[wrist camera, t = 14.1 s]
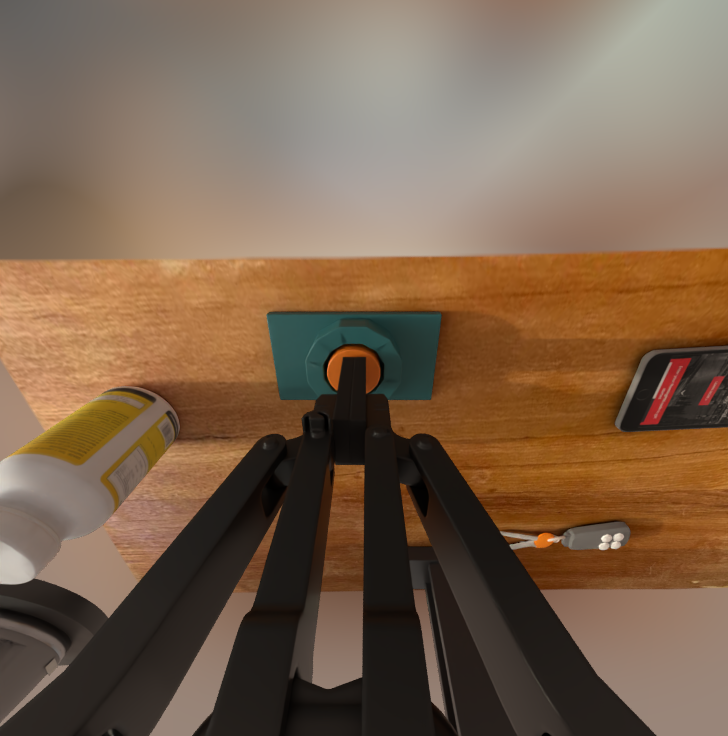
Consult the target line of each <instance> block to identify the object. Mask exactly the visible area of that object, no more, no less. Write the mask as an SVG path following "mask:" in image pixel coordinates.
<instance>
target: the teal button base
mask: <svg viewBox="0 0 728 736" xmlns="http://www.w3.org/2000/svg"><path fill="white" fill-rule="evenodd" d="M441 317H442V315H441V313H440V312H269V313H268V314H267V321H268V328H269V334H270V340H271V346H272V352H273V358H274V364H275V370H276V376H277V382H278V388H279V394H280V399H281V400H316V399H317V398H318V397H319V396H320V395H321V394H337V390H336V389H335V388H334V387H333V386H332V385H331V384H330V382H329V380H328V376H327V368H328V364H329V360H330V357H331V354H332V352H333V350H335V349H336V348H338V347H340V346H342V345H344V344H363V345H365V346H367V347H369V348H371V349H373V350H374V351H376V352H377V354H378V357H379V362H380V379H379V382H378V384H377V385H376V387H375V388H374V389H373V390H371V391H370V392H368V393H367V394H384V395H385V396H386V397H387V398H388V400H431V396H432V388H433V380H434V372H435V364H436V356H437V348H438V340H439V332H440V324H441Z"/></svg>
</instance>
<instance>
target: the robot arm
mask: <svg viewBox="0 0 728 736" xmlns="http://www.w3.org/2000/svg"><path fill="white" fill-rule="evenodd" d="M302 426H303V435H301V436H299V437H297V438H294V439H289V440H286V439H285V438H284V437H283V436H282V435H279V434H270V435H266V436H264V437H262V438H261V439H260V440H258V441H257V442H256V444H255V445H254V446H253V447H252V448H251V450H250V451H249V452H248V453H247V454H246V456H245V457H244V458H243V459H242V460H241V461H240V463H239V464H238V465H237V466H236V467H235V469H234V470H233V471H232V472H231V473H230V475H229V476H228V477H227V478H226V479H225V481H224V482H223V483H222V484H221V485H220V486H219V488H218V489H217V490H216V491H215V492H214V494H213V495H212V496H211V497H210V498H209V500H208V501H207V502H206V503H205V504H204V505H203V507H202V508H201V509H200V510H199V511H198V513H197V514H196V515H195V516H194V517H193V519H192V520H191V521H190V522H189V523H188V525H187V526H186V527H185V528H184V529H183V530H182V532H181V533H180V534H179V535H178V536H177V538H176V539H175V540H174V541H173V542H172V544H171V545H170V546H169V547H168V548H167V549H166V551H165V552H164V553H163V554H162V555H161V557H160V558H159V559H158V560H157V561H156V563H155V564H154V565H153V566H152V567H151V569H150V570H149V571H148V572H147V573H146V574H145V576H144V577H143V578H142V579H141V580H140V582H139V583H138V584H137V585H136V586H135V588H134V589H133V590H132V591H131V592H130V593H129V595H128V596H127V597H126V598H125V599H124V601H123V602H122V603H121V604H120V605H119V607H118V608H117V609H116V610H115V611H114V613H113V614H112V615H111V616H110V618H108V620H107V621H106V622H105V623H104V624H103V626H102V627H101V628H100V629H99V630H98V632H97V633H96V634H95V635H94V636H93V637H92V639H91V640H90V641H89V642H88V643H87V645H86V646H85V647H84V648H83V649H82V651H81V652H80V653H79V654H78V655H77V657H76V658H75V659H74V660H73V661H72V662H71V664H70V665H69V666H68V667H67V668H66V670H65V671H64V672H63V673H62V674H60V675H59V676H58V677H57V678H56V679H55V680H54V681H52V682H51V683H50V684H49V685H48V686H47V687H46V688H44V689H43V690H42V691H41V692H40V693H39V694H38V695H36V696H35V697H34V698H33V699H32V700H31V701H30V702H29V703H27V704H26V705H25V706H24V707H23V708H22V709H20V710H19V711H18V712H17V713H16V714H15V715H14V716H13V717H11V718H10V719H9V720H8V721H7V722H6V723H4V724H3V725H2V726H1V727H0V736H149V735H150V733H151V732H152V730H153V729H154V728H155V726H156V724H157V723H158V721H159V719H160V718H161V716H162V714H163V713H164V711H165V710H166V708H167V706H168V705H169V703H170V701H171V700H172V698H173V696H174V694H175V693H176V691H177V689H178V687H179V686H180V684H181V682H182V680H183V679H184V677H185V675H186V673H187V672H188V670H189V668H190V666H191V664H192V662H193V661H194V659H195V657H196V656H197V654H198V652H199V650H200V649H201V647H202V645H203V643H204V641H205V640H206V638H207V636H208V635H209V633H210V631H211V629H212V627H213V626H214V624H215V622H216V620H217V619H218V617H219V615H220V613H221V612H222V610H223V608H224V606H225V605H226V603H227V600H228V599H229V597H230V596H231V594H232V592H233V590H234V589H235V587H236V585H237V583H238V582H239V580H240V578H241V576H242V575H243V573H244V571H245V569H246V568H247V566H248V564H249V562H250V560H251V559H252V557H253V555H254V553H255V552H256V550H257V548H258V546H259V545H260V543H261V541H262V539H263V538H264V536H265V534H266V532H267V531H268V529H269V527H270V525H271V523H272V522H273V520H274V518H275V516H276V515H277V513H278V511H279V509H280V508H281V506H282V508H281V512H280V515H279V519H278V522H277V526H276V529H275V532H274V536H273V539H272V543H271V546H270V550H269V553H268V557H267V560H266V564H265V567H264V570H263V574H262V577H261V581H260V584H259V588H258V591H257V595H256V598H255V601H254V604H253V607H252V609H251V611H250V612H248V613H247V614H246V615H245V616H244V618H243V620H242V622H241V624H240V627H239V630H238V632H237V636H236V639H235V642H234V645H233V649H232V652H231V655H230V658H229V662H228V665H227V668H226V671H225V675H224V678H223V681H222V684H221V688H220V691H219V694H218V697H217V701H216V703H215V707H214V710H213V712H212V713H211V714H210V716H208V717H207V719H206V720H205V721H204V722H203V723H202V724H201V725H200V727H199V728H198V729H197V730H196V731H195V733H194V734H193V735H192V736H459V735H458V734H457V732H456V731H455V729H454V728H453V726H452V725H451V723H450V722H449V721H448V719H447V718H446V717H445V716H444V714H443V713H442V712H441V711H440V710H439V709H438V708H437V707H436V706H435V705H434V704H433V703H432V702H431V698H430V691H429V684H428V675H427V669H426V660H425V653H424V645H423V638H422V631H421V625H420V620H419V616H418V614H417V612H416V608H415V602H414V595H413V586H412V578H411V570H410V562H409V554H408V546H407V537H406V529H405V521H404V513H403V505H402V497H401V489H400V483H402V484H405V485H406V488H407V490H408V492H409V495H410V497H411V499H412V501H413V504H414V506H415V508H416V510H417V513H418V515H419V517H420V520H421V522H422V524H423V526H424V529H425V531H426V533H427V535H428V538H429V540H430V542H431V545H432V547H433V549H434V551H435V554H436V556H437V558H438V560H439V563H440V565H441V567H442V570H443V572H444V574H445V576H446V579H447V581H448V583H449V585H450V588H451V590H452V592H453V595H454V597H455V599H456V601H457V604H458V606H459V608H460V610H461V613H462V615H463V617H464V619H465V622H466V624H467V626H468V629H469V631H470V633H471V635H472V638H473V640H474V642H475V644H476V647H477V649H478V651H479V654H480V656H481V658H482V660H483V663H484V665H485V667H486V669H487V672H488V674H489V676H490V679H491V681H492V683H493V685H494V688H495V690H496V692H497V694H498V697H499V699H500V701H501V703H502V705H503V707H504V710H505V712H506V714H507V716H508V718H509V720H510V722H511V724H512V726H513V728H514V730H515V732H516V734H517V736H656V735H655V734H654V733H653V732H652V731H651V730H650V729H649V727H647V726H646V725H645V723H644V722H643V721H642V720H641V719H640V718H639V717H638V716H637V715H636V714H635V713H634V712H633V711H632V710H631V709H630V708H629V707H628V706H627V705H626V704H625V703H624V702H623V701H622V700H621V699H620V698H619V697H618V696H617V695H616V694H615V693H614V692H613V691H612V690H611V689H610V688H609V687H608V685H607V684H606V683H605V682H604V681H603V680H602V679H601V678H600V677H599V676H598V675H597V674H596V672H595V671H594V670H593V668H592V667H591V665H590V664H589V662H588V661H587V659H586V658H585V657H584V655H583V654H582V652H581V650H580V649H579V647H578V646H577V645H576V643H575V641H574V640H573V639H572V637H571V636H570V634H569V633H568V631H567V630H566V628H565V627H564V625H563V624H562V622H561V621H560V619H559V618H558V616H557V615H556V614H555V612H554V611H553V609H552V608H551V606H550V605H549V603H548V602H547V600H546V599H545V597H544V596H543V594H542V593H541V592H540V590H539V588H538V587H537V585H536V584H535V583H534V581H533V580H532V578H531V577H530V575H529V574H528V572H527V571H526V569H525V568H524V566H523V565H522V563H521V562H520V560H519V559H518V557H517V556H516V555H515V553H514V552H513V550H512V549H511V547H510V546H509V544H508V543H507V541H506V540H505V538H504V537H503V535H502V534H501V532H500V531H499V529H498V528H497V527H496V525H495V524H494V522H493V521H492V519H491V518H490V516H489V515H488V513H487V512H486V510H485V509H484V507H483V506H482V504H481V503H480V501H479V500H478V498H477V497H476V496H475V494H474V493H473V491H472V490H471V488H470V487H469V485H468V484H467V482H466V481H465V479H464V478H463V476H462V475H461V473H460V472H459V470H458V469H457V468H456V466H455V465H454V463H453V462H452V460H451V459H450V457H449V456H448V454H447V453H446V451H445V450H444V448H443V447H442V445H441V444H440V442H439V441H438V440H437V439H436V438H435V437H433V436H431V435H428V434H416V435H414V436H413V437H411V439H406V438H403V437H400V436H398V435H397V434H395V433H394V432H393V430H392V428H391V421H390V413H389V406H388V398H387V397H386V396H385V395H384V394H366V357H343V360H342V366H341V371H340V377H339V383H338V389H337V394H321V395H320V396H319V397H318V398H317V399H316V403H315V406H314V410H313V411H310V412H307V413H306V414H305V415H303V417H302ZM334 463H335V465H365V482H364V586H363V593H364V594H363V666H362V667H363V673H362V674H363V675H362V678H359V679H356V680H353V681H351V682H348V683H345V684H343V685H340V686H337V687H335V688H332V689H324V688H322V687H320V686H317V685H315V684H312V675H313V651H314V642H315V633H316V625H317V617H318V608H319V600H320V592H321V583H322V575H323V567H324V558H325V550H326V542H327V533H328V525H329V517H330V509H331V500H332V492H333V484H334V475H335V471H334ZM282 504H283V505H282ZM70 647H71V641H70V639H69V637H68V636H67V635H66V634H65V633H64V632H63V631H62V630H60V629H59V628H57V627H56V626H54V625H52V624H50V623H48V622H46V621H44V620H41V619H39V618H36V617H33V616H31V615H27V614H24V613H20V612H16V611H12V610H7V609H1V608H0V723H1V721H2V720H3V719H4V718H5V717H6V716H7V715H8V714H9V713H10V712H11V711H12V710H13V709H14V708H15V707H16V706H17V705H18V704H19V703H20V702H21V701H22V700H23V699H24V698H25V697H26V696H27V695H28V694H29V693H30V691H31V690H33V688H34V687H35V686H36V685H37V684H38V683H39V682H40V681H41V680H42V679H43V678H44V677H45V676H46V675H47V674H48V675H50V674H51V673H52V672H53V671H54V670H55V669H56V668H57V667H58V664H59V663H60V661H61V660H62V658H63V657H64V656H65V654H66V653H67V651H68V650H69V648H70Z"/></svg>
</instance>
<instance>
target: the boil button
mask: <svg viewBox="0 0 728 736" xmlns="http://www.w3.org/2000/svg"><path fill="white" fill-rule="evenodd" d="M343 357H366V394H367V393H368V392H370V391H371V390H373V389H374V388H375V387H376V385H377V384H378V382H379V379H380V362H379V357H378V354H377V352H376V351H374V350H373V349H371V348H369V347H367V346H365V345H363V344H344V345H342V346H340V347H338V348H336V349H335V350H333V352H332V354H331V357H330V360H329V364H328V368H327V376H328V380H329V382H330V384H331V385H332V386H333V387H334V388H335V389H336V390H337V389H338V383H339V377H340V371H341V366H342V360H343Z"/></svg>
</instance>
